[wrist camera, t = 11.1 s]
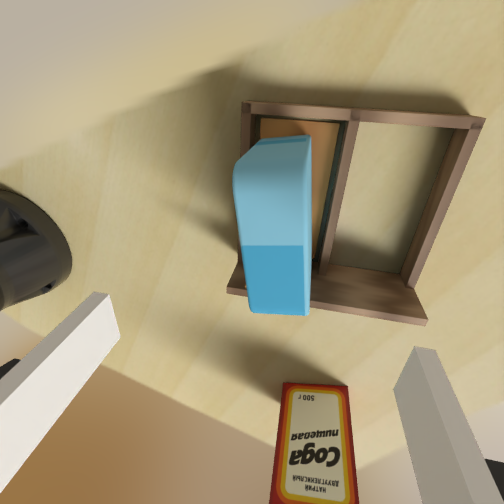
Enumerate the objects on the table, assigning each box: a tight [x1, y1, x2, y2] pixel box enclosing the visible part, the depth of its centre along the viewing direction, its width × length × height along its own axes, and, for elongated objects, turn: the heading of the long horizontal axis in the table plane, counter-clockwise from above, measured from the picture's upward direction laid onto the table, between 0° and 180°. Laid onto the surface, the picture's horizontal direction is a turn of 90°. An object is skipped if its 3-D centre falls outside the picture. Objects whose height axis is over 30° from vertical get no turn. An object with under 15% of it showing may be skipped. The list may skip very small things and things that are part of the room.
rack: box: [227, 101, 486, 326], centre depth 26 cm, size 18×17×7 cm
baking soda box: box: [269, 383, 359, 504], centre depth 38 cm, size 10×6×16 cm
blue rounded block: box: [232, 135, 312, 316], centre depth 24 cm, size 12×4×12 cm, turn 6°
